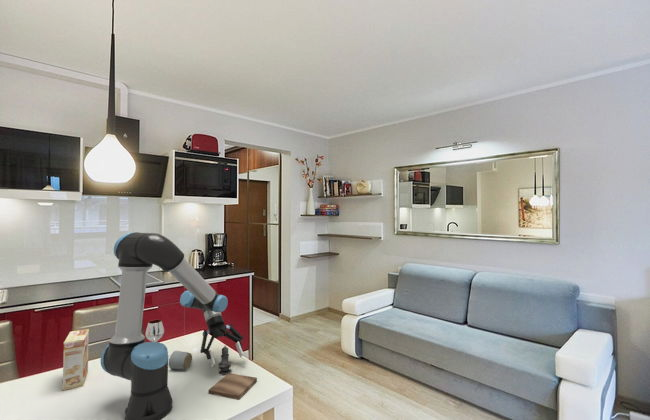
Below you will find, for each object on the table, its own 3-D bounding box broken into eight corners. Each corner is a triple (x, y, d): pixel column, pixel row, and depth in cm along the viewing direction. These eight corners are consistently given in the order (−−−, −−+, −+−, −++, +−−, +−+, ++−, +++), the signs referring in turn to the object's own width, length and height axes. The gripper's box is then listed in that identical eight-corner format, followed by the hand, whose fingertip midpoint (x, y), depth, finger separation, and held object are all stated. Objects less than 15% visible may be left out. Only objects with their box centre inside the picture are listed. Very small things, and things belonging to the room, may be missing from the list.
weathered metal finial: (234, 371, 142) (234, 345, 143) (222, 376, 138) (222, 349, 138) (227, 367, 146) (227, 341, 147) (215, 371, 142) (215, 345, 142)
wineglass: (158, 361, 152) (158, 324, 152) (141, 361, 152) (142, 324, 152) (166, 354, 160) (167, 318, 161) (151, 354, 160) (151, 318, 161)
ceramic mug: (184, 372, 142) (185, 355, 142) (167, 371, 142) (168, 354, 143) (196, 362, 152) (197, 346, 152) (180, 361, 153) (181, 345, 153)
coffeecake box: (83, 386, 130) (84, 339, 130) (61, 391, 126) (62, 343, 127) (88, 371, 143) (89, 328, 143) (69, 375, 139) (69, 331, 140)
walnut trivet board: (239, 399, 121) (239, 395, 121) (208, 393, 125) (208, 389, 125) (256, 381, 134) (256, 377, 134) (228, 376, 138) (228, 372, 138)
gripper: (234, 317, 163) (249, 355, 152) (185, 329, 145) (198, 373, 134) (240, 309, 159) (255, 348, 148) (190, 320, 142) (203, 365, 131)
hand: (228, 360), depth 141 cm, fingers open, 13 cm apart
